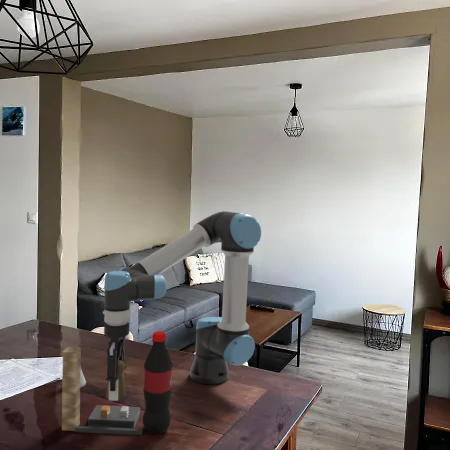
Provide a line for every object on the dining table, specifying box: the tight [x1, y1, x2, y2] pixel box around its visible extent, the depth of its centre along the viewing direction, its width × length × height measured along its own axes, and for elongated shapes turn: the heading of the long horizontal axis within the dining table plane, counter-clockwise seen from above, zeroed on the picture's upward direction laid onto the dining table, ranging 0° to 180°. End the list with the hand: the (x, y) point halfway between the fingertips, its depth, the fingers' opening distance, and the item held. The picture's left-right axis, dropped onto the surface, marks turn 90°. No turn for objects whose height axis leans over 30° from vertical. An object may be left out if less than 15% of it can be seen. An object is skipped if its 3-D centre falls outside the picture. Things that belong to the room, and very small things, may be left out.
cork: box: [105, 360, 127, 401], centre depth 146 cm, size 6×6×11 cm
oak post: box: [61, 346, 82, 432], centre depth 141 cm, size 4×4×24 cm
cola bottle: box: [142, 330, 173, 435], centre depth 142 cm, size 8×8×30 cm
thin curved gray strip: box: [74, 425, 144, 436], centre depth 140 cm, size 20×1×1 cm, turn 89°
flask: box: [80, 365, 87, 389], centre depth 171 cm, size 7×7×10 cm
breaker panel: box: [87, 404, 141, 429], centre depth 147 cm, size 14×9×4 cm, turn 89°
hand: (116, 394), depth 147 cm, fingers closed on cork, 6 cm apart
